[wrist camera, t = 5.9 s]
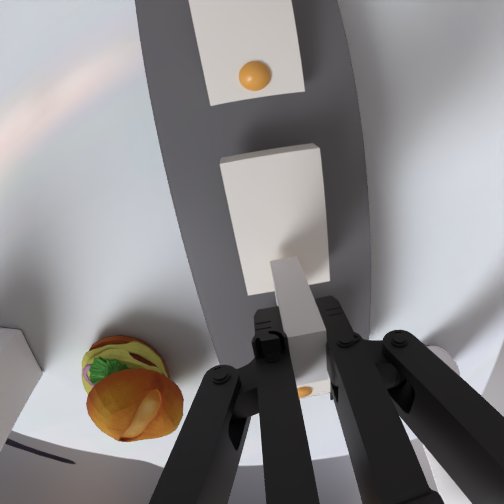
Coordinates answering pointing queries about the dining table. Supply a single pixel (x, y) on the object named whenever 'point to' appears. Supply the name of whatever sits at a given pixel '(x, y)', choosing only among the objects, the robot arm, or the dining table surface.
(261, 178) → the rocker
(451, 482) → the bottle
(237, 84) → the rocker
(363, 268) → the power strip
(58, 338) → the dining table surface
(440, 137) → the dining table surface
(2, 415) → the milk carton
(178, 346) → the dining table surface
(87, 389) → the cheeseburger
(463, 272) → the dining table surface
